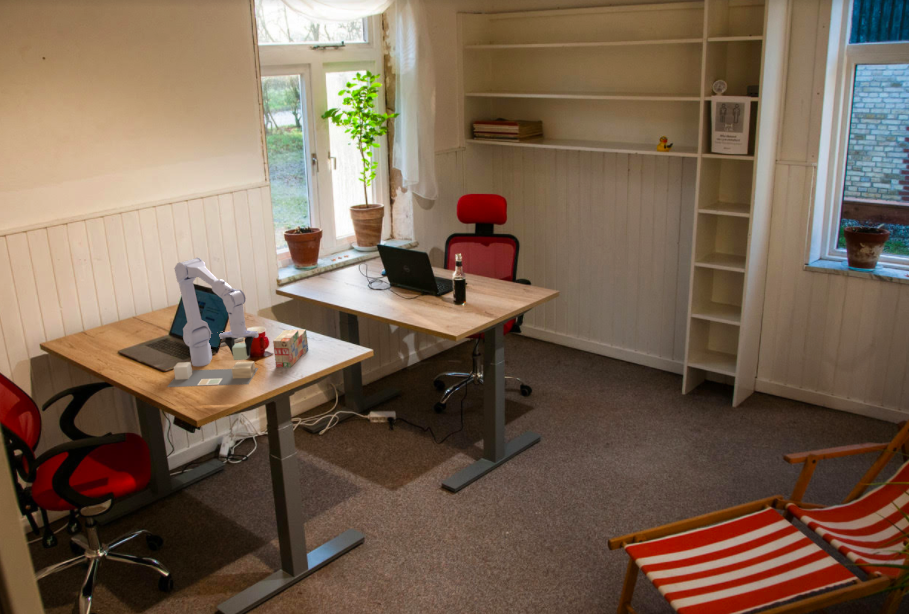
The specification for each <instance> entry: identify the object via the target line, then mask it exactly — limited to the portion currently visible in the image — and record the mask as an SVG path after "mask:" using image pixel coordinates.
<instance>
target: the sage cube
mask: <svg viewBox="0 0 909 614" xmlns="http://www.w3.org/2000/svg"><path fill="white" fill-rule="evenodd" d="M232 351H233V355H232V358H233V361H241V360H242V361H243V360H248V359H249V357H250V355H249V356H247V349H246V344H245V342H237V343H235V345H234V346H233V347H232Z"/></svg>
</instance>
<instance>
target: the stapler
mask: <svg viewBox="0 0 909 614" xmlns="http://www.w3.org/2000/svg"><path fill="white" fill-rule="evenodd" d="M224 331H225V332H230V331H231V330H230V329H229V330H224ZM244 340H245V339H244V338H234V341H235V343H241V342H243V341H244ZM225 346H227V344H226V343H225V338H223V339H222V341H221V345H220V347H219V348H221V347H225Z"/></svg>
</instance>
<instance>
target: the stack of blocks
mask: <svg viewBox="0 0 909 614" xmlns="http://www.w3.org/2000/svg"><path fill="white" fill-rule="evenodd" d="M272 343H273V353H274V360H275V367H276V368H292V366H294V364H295V363H297V361H298V360H299V359H300V358H301V356H302V355H305V354H306V353H307V352H308V351H309V342H308V335H307V329H295V328H294V329H283V330H282V331H281V333H280V334H279V335H278V336H277V337H275V338H274V339H273V341H272Z"/></svg>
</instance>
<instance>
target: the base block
mask: <svg viewBox="0 0 909 614" xmlns="http://www.w3.org/2000/svg"><path fill="white" fill-rule="evenodd" d="M255 368H256V363H255V361H236V362H235V364H234V365H233V366H232V368H231V369H232V375H233V379H235V378H251V377H252V376H253V374H254V372H255ZM253 377H254V376H253Z"/></svg>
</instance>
